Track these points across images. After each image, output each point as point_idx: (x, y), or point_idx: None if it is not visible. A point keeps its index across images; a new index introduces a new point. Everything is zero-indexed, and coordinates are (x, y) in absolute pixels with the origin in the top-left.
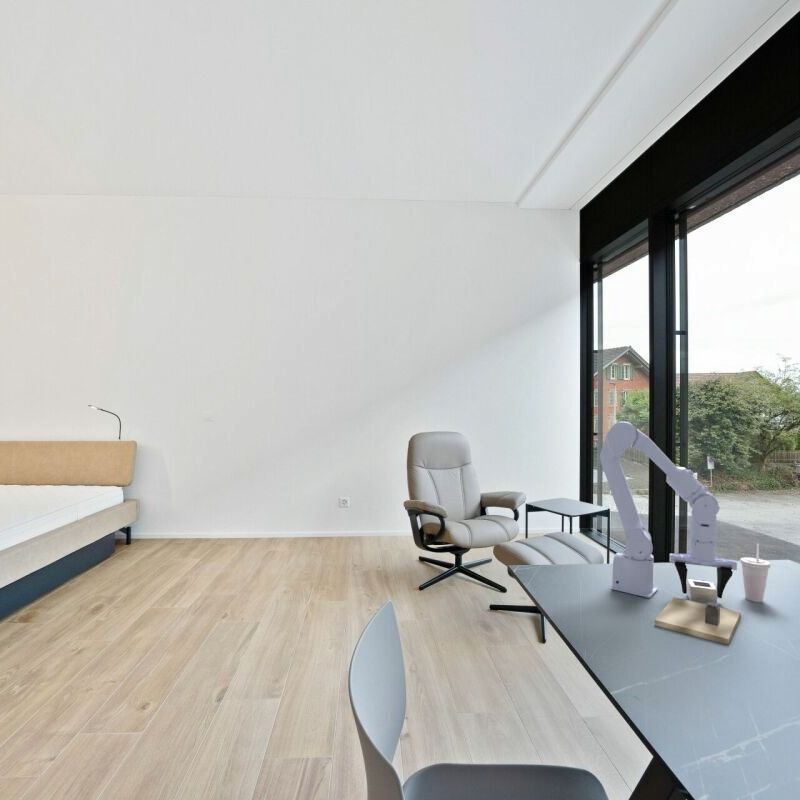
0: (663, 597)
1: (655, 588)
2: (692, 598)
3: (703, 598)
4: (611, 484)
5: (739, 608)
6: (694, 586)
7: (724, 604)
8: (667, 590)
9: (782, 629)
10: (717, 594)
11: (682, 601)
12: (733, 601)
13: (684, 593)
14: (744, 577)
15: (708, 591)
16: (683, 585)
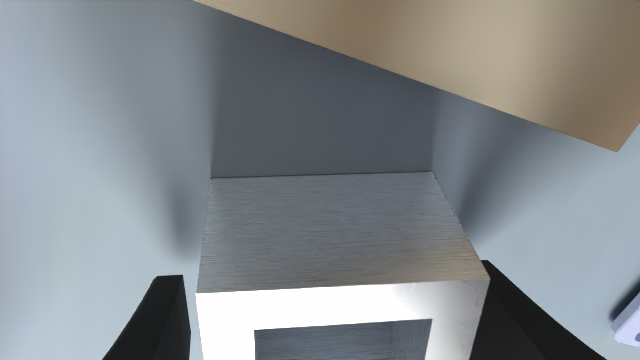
0: (629, 204)
1: (636, 325)
2: (431, 194)
3: (334, 205)
4: None
5: (6, 200)
6: (451, 290)
7: (136, 244)
8: None
9: None
10: (185, 322)
11: (587, 48)
12: (59, 334)
13: (483, 261)
14: None
15: (294, 263)
16: (536, 309)
